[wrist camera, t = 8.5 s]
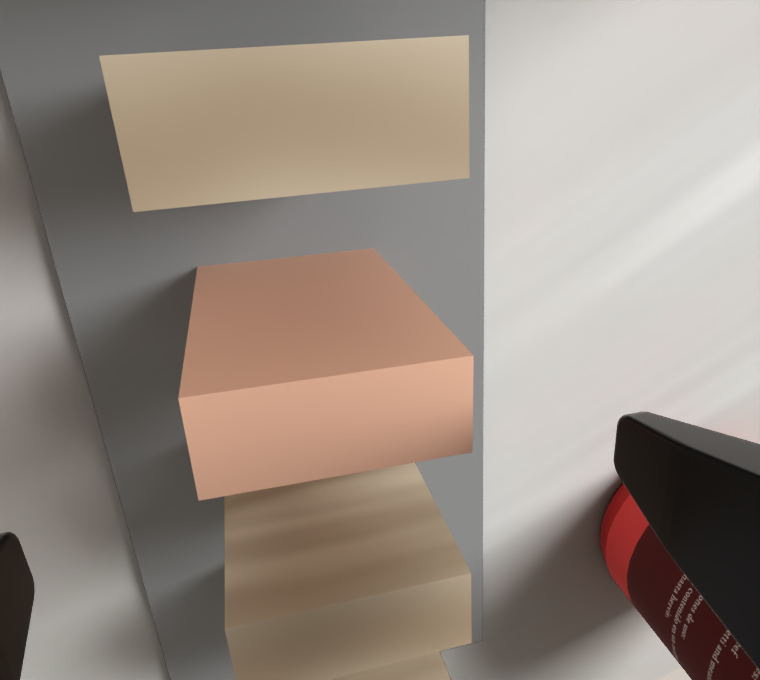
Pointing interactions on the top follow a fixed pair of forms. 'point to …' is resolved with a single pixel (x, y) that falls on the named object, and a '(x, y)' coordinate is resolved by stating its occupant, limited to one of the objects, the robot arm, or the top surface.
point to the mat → (222, 246)
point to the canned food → (668, 596)
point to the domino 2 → (317, 373)
